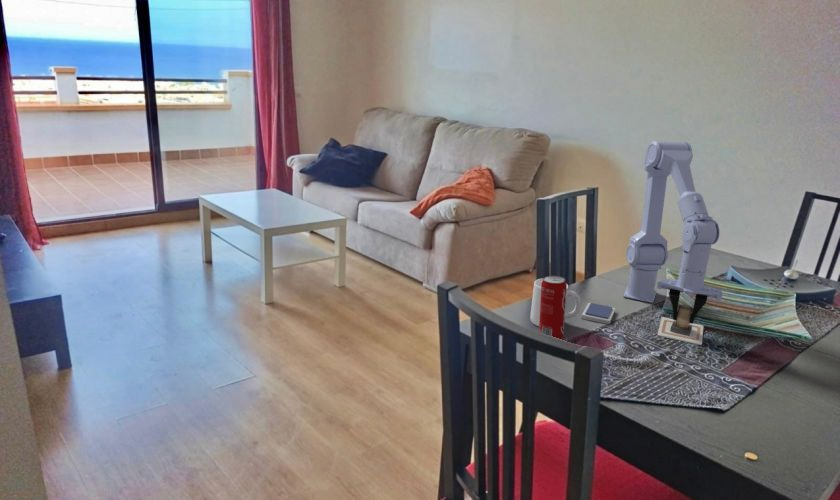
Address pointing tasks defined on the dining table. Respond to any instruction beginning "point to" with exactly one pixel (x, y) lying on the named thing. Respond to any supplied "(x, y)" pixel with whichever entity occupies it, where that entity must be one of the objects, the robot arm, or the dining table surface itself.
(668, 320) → the sheet
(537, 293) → the mug
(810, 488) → the dining table surface
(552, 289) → the beverage can
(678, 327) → the stamp
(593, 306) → the ink pad
